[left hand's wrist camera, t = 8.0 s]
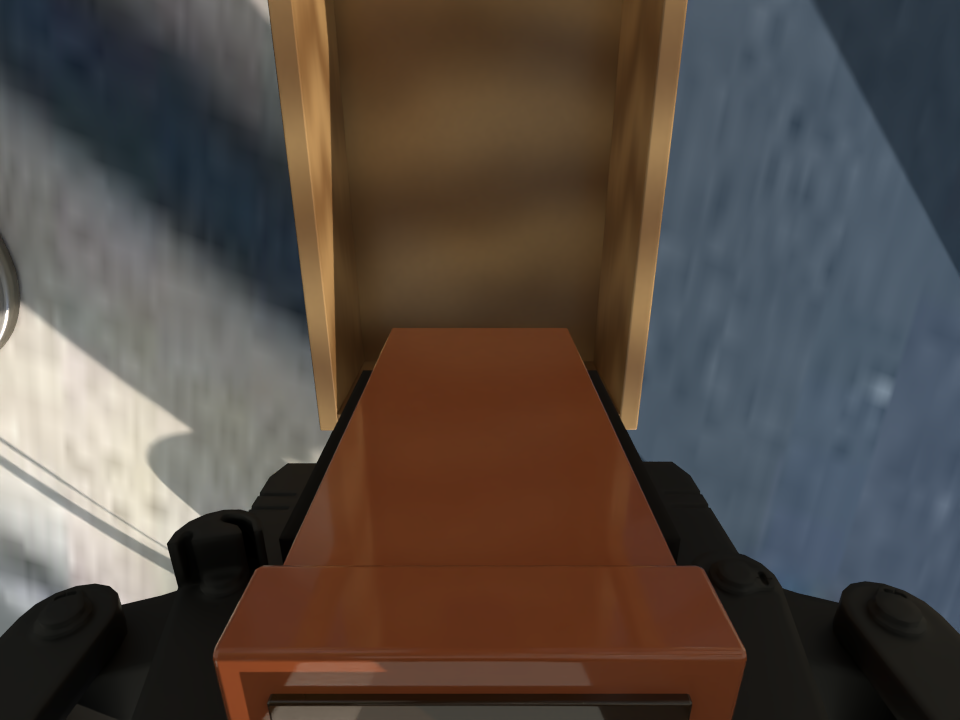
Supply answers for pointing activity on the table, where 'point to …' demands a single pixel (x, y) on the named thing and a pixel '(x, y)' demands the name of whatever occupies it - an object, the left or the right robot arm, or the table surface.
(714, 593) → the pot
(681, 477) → the left robot arm
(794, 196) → the table surface
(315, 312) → the trug
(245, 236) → the table surface
